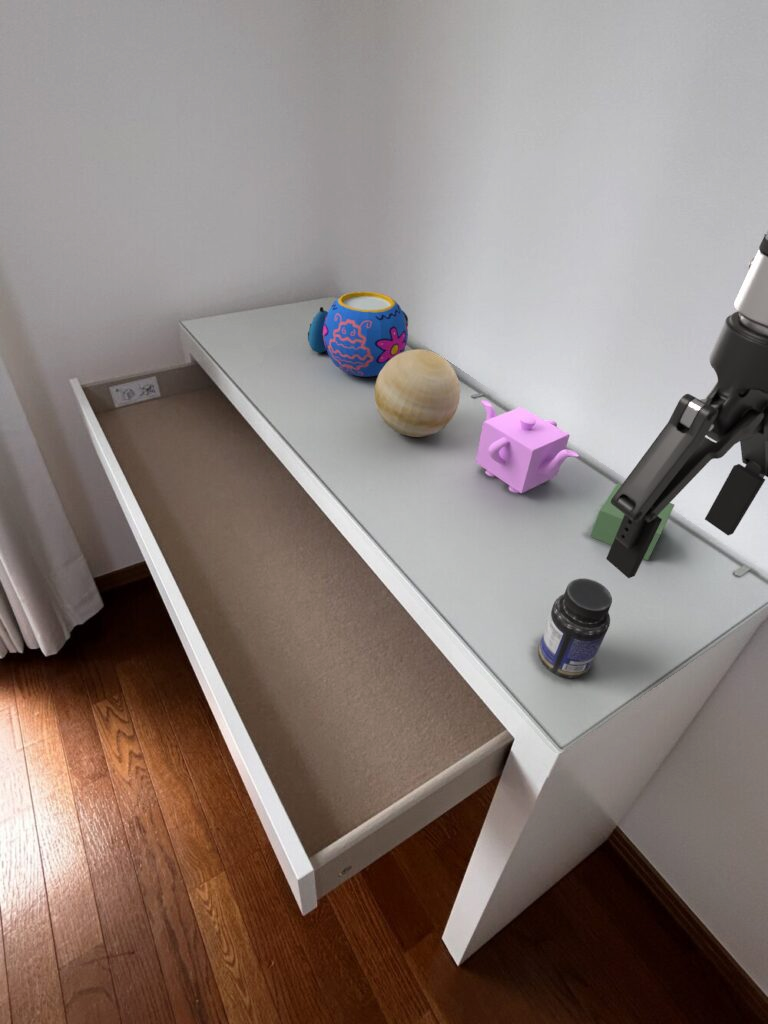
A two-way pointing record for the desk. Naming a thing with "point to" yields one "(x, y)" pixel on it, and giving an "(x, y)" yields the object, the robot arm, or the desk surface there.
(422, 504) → the desk surface
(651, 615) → the desk surface
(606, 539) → the block
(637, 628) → the desk surface
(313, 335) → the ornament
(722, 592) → the desk surface
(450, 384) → the decorative ball
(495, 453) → the teapot
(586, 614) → the pill bottle
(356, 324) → the ceramic pot
